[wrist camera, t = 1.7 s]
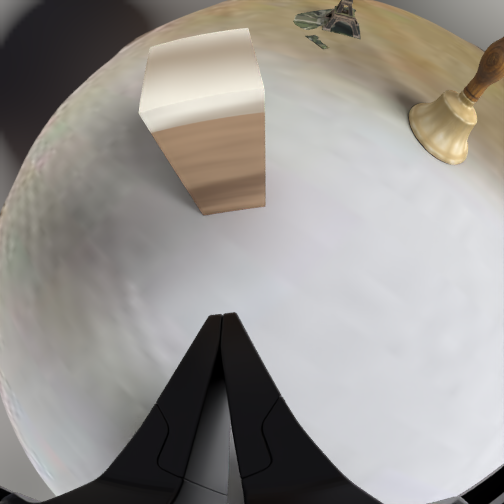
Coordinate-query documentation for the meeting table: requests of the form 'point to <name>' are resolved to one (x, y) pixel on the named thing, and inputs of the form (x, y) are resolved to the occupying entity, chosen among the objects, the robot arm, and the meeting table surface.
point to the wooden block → (209, 117)
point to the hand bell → (456, 111)
